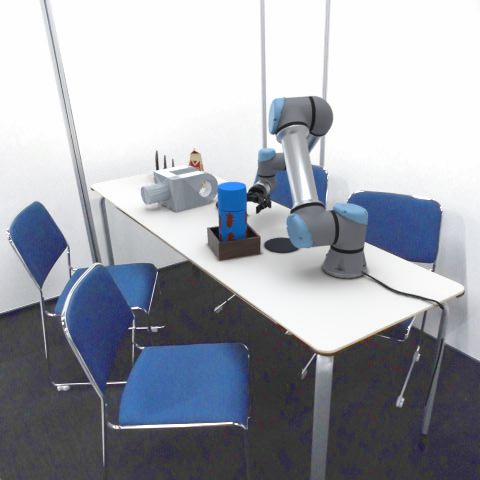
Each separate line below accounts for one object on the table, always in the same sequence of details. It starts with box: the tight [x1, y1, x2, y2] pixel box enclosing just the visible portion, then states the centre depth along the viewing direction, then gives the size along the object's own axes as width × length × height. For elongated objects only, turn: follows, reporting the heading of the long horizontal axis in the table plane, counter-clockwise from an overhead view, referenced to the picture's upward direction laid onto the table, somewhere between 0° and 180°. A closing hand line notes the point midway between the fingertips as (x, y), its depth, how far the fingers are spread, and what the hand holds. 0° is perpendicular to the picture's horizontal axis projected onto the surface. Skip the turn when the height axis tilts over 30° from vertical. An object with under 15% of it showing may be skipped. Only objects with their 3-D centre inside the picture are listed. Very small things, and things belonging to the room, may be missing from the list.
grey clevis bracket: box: [140, 164, 219, 213], centre depth 228 cm, size 35×19×15 cm, turn 126°
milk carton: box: [188, 147, 206, 188], centre depth 252 cm, size 9×9×20 cm
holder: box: [206, 222, 262, 261], centre depth 184 cm, size 17×17×7 cm
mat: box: [263, 236, 300, 254], centre depth 187 cm, size 14×14×1 cm
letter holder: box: [154, 149, 175, 171], centre depth 267 cm, size 10×20×14 cm, turn 6°
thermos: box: [216, 181, 248, 242], centre depth 179 cm, size 11×11×25 cm
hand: (240, 208), depth 185 cm, fingers open, 13 cm apart
